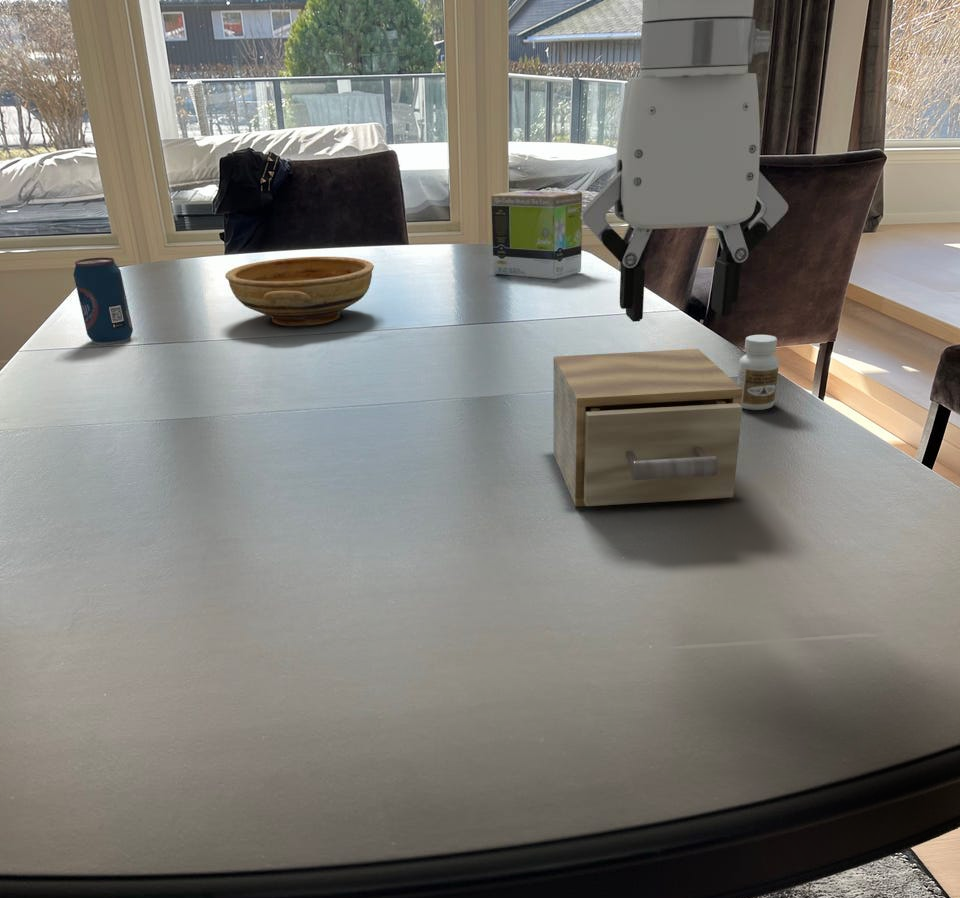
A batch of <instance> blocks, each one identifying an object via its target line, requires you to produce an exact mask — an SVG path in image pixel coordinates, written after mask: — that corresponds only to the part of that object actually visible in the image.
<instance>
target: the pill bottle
mask: <svg viewBox="0 0 960 898" xmlns="http://www.w3.org/2000/svg"><path fill="white" fill-rule="evenodd" d="M777 345H778V338H777V337H776V336H774V335H770V334H753V335H752V334H751V335H749V336H746V337H745V342H744V352H746V353H745V354H744V355H743V356H742V357H740V359H739V361H738V369H737V371H738V372H737V381H736V384H737V385H739V386H740V387H741V388H742V389H743V390H742V399H741V406H742V409H745V410H750V411H763V410H767V409H770V408H773V406H774V405H775V400H776V399H775V398H776V390H777V384H778V375H779V366H780V365H779V364H780V361H779V360H780V359H778V357H777V356H775V355H774V354H775V353H776V352H777Z"/></svg>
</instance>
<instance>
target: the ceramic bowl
mask: <svg viewBox="0 0 960 898" xmlns="http://www.w3.org/2000/svg"><path fill="white" fill-rule="evenodd" d="M374 268H375V265H374V264H373V263H372V262H370V261H368V260H365V259H361V258H355V257H349V256H348V257H347V256H301V257H299V256H298V257H288V258H277V259H270V260H263V261H258V262H251V263H247V264H243V265H240V266H237V267H234V268H231V269H230V270H228V271H227V272H226V273H225V279H226V280H227V281H228V284H229V287H230V290H231V292H232V294H233V295H234V297H235V298H236V299H237V300H238V301H239V302H240V304H242V305H243V306H244V307H246V308H248V309H250V310H253V311H255V312H258V313H260V314H262V315H266V316H269V317H271V321H272V322H273V323H274V324H276V325H280V326H287V327H297V326H298V327H302V326H315V325H316V326H317V325H322V324H326V323H330V322H333V321H336V320H338V319H339V318H340V312H342V311H344V310H345V309H347V308H349V307H351V306H353V305H354V304H356V303H357V302H359V301H361V300H362V298H364V296H365V295H366V294H367V293H368V291H369V288H370V286H371V282H372V277H373V270H374Z"/></svg>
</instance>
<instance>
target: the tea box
mask: <svg viewBox="0 0 960 898" xmlns="http://www.w3.org/2000/svg"><path fill="white" fill-rule="evenodd" d="M490 201H491V202H490V203H491V204H490V205H491V239H492V240H491V241H492V265H493V266H492V267H493V270H494V271H493V270H492V271H493V274H494V275H504V276H516V277H517V276H518V277H530V278H541V279H550V280H551V279H552V280H556V279H560V278H561V279H562V278H564V277H565V278H566V277H569V276H572V275H576V274H578V273H581V271H582V250H583V249H582V247H583V246H582V245H583V244H582V243H583V242H582V241H583V236H582V235H583V221H582V220H581V217H580V214H581V212H582V210H583V192H582V191H578V190H577V191H576V190H575V191H574V190H570V191H565V190H529V189H528V190H526V189H525V190H521V189H520V190H513V191H506V192H501V193H494V194H492V195H490Z"/></svg>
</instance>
